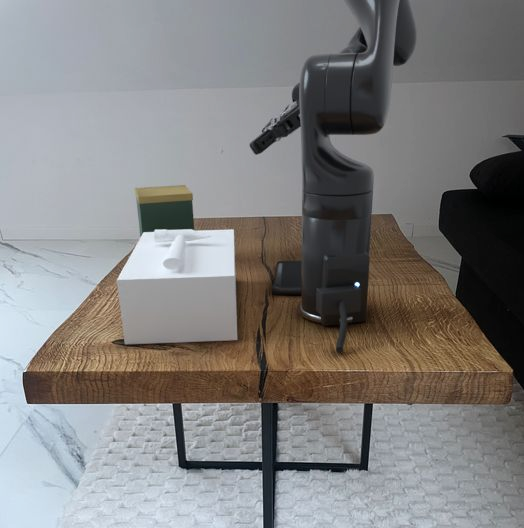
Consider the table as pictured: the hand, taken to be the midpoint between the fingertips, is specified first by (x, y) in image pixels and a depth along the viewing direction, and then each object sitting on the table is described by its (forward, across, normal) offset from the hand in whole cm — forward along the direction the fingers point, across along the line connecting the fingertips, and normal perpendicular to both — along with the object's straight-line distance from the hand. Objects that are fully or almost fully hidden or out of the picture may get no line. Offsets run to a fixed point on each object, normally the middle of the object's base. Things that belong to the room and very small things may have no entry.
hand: (254, 149), depth 100 cm
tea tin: (+20, -15, +8) cm, 26 cm away
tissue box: (+28, +9, +10) cm, 31 cm away
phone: (+9, +6, +20) cm, 23 cm away
